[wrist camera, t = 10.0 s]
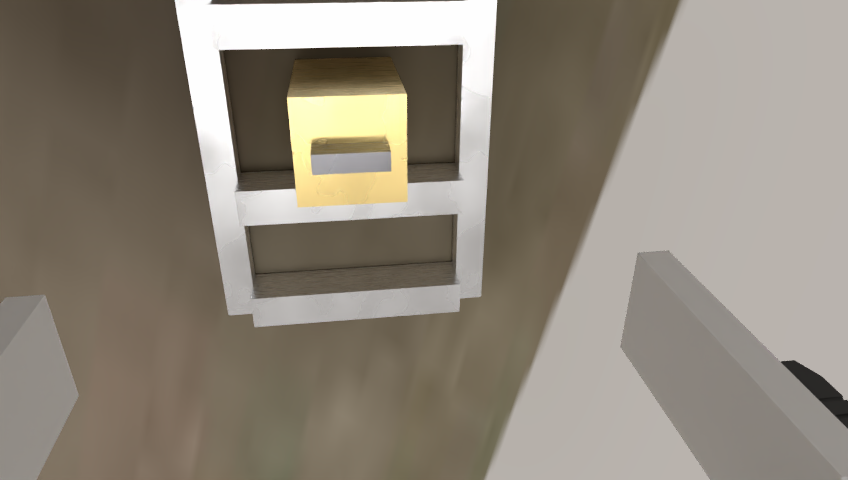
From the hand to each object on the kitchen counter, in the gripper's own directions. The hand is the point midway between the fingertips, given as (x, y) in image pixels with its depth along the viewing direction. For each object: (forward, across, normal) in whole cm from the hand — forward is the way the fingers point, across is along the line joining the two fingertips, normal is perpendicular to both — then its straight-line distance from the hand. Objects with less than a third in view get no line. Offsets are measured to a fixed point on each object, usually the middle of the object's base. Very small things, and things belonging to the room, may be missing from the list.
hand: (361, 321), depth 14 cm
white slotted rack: (+19, 0, 0) cm, 19 cm away
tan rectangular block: (+19, 0, 0) cm, 19 cm away
